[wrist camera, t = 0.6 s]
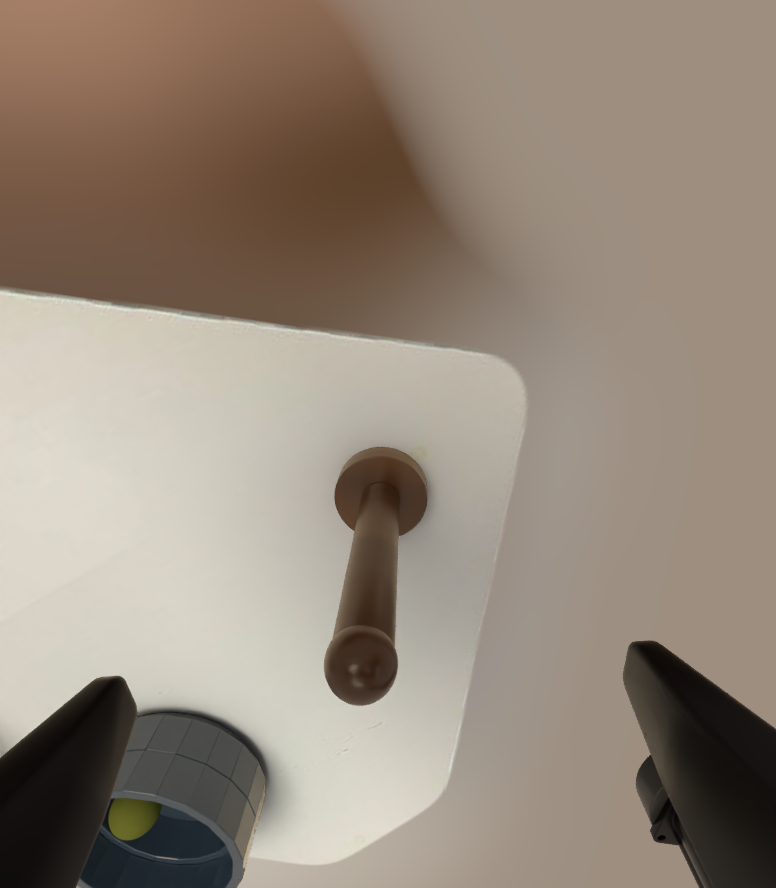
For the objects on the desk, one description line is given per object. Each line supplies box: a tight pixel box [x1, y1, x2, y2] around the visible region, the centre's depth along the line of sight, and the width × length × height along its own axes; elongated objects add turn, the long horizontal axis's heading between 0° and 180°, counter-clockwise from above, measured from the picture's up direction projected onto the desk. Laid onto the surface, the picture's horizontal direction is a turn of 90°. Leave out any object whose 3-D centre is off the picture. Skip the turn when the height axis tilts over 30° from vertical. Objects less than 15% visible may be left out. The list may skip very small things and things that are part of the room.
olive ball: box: [108, 798, 162, 840], centre depth 29 cm, size 3×3×3 cm
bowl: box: [77, 713, 266, 888], centre depth 28 cm, size 11×11×5 cm
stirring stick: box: [324, 447, 427, 706], centre depth 17 cm, size 4×4×12 cm
